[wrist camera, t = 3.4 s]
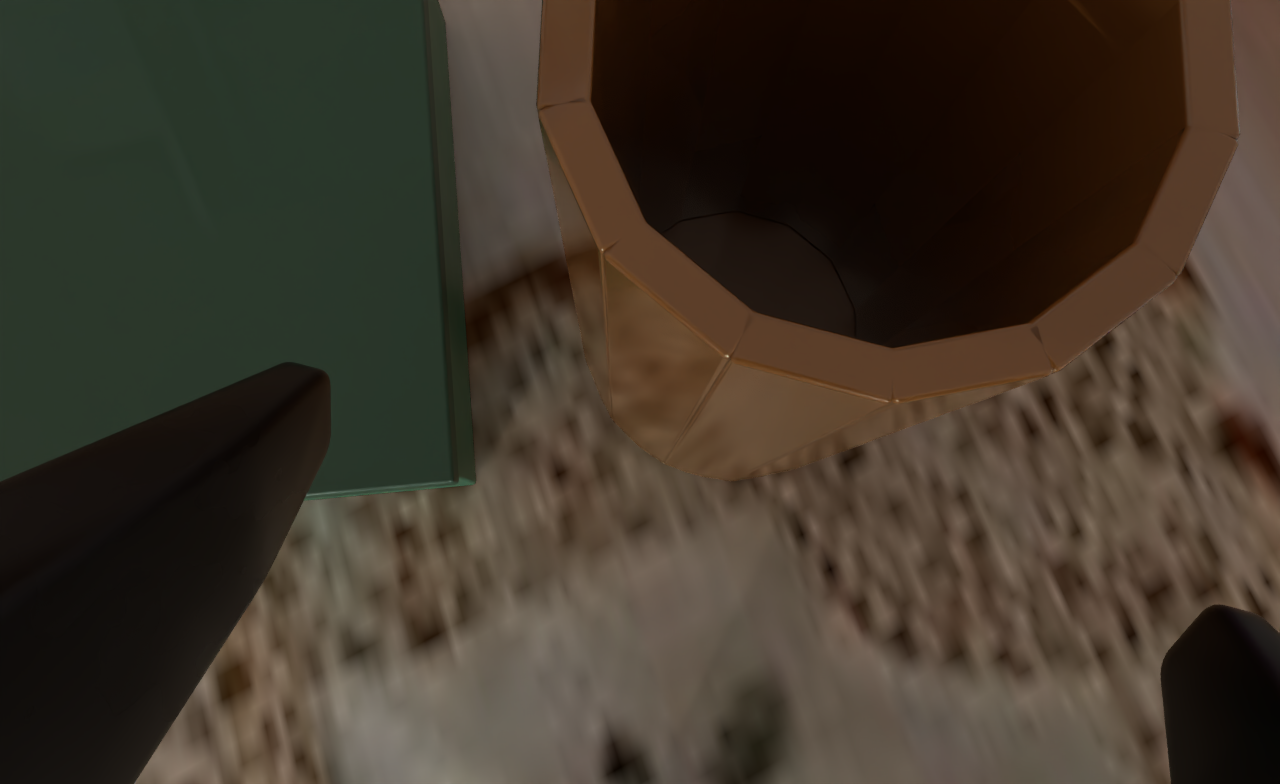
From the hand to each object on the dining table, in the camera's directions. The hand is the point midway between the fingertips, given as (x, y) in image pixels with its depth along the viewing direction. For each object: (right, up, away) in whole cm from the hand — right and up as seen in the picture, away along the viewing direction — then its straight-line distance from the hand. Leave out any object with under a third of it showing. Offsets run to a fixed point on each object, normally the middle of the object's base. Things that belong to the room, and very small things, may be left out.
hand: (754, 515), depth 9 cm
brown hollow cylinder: (+1, +2, +11) cm, 12 cm away
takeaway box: (-11, +4, +11) cm, 16 cm away
